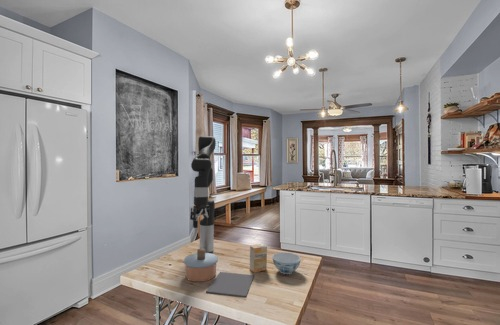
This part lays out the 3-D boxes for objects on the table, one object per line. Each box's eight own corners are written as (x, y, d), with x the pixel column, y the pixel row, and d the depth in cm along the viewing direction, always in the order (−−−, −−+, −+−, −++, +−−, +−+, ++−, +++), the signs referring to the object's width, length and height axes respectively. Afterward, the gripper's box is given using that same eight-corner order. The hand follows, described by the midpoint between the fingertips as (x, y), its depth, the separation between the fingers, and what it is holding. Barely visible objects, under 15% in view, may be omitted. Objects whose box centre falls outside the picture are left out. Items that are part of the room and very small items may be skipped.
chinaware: (305, 271, 129) (306, 257, 129) (290, 281, 118) (290, 265, 118) (282, 263, 140) (283, 250, 140) (266, 271, 129) (266, 257, 129)
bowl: (193, 267, 133) (193, 254, 133) (219, 269, 130) (219, 256, 130) (180, 279, 118) (180, 265, 118) (209, 283, 115) (209, 268, 116)
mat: (220, 272, 126) (220, 271, 126) (253, 276, 123) (253, 275, 123) (206, 292, 107) (206, 291, 107) (245, 297, 103) (246, 295, 103)
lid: (192, 253, 134) (192, 243, 134) (221, 256, 131) (222, 245, 131) (177, 266, 118) (178, 254, 118) (211, 269, 114) (211, 257, 114)
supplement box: (253, 273, 127) (254, 248, 127) (249, 269, 131) (249, 245, 131) (267, 270, 131) (267, 246, 131) (262, 266, 135) (262, 243, 135)
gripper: (203, 194, 138) (202, 223, 137) (186, 196, 125) (186, 228, 124) (214, 195, 134) (214, 224, 134) (198, 197, 122) (197, 229, 121)
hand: (200, 226), depth 129 cm, fingers open, 8 cm apart
